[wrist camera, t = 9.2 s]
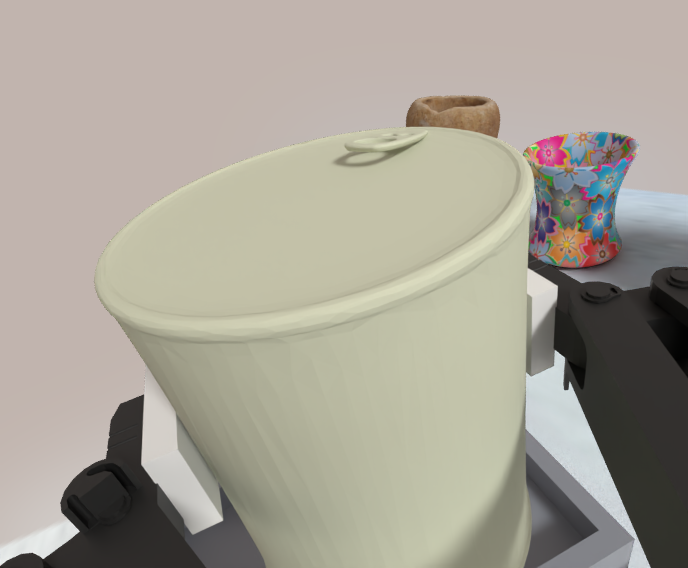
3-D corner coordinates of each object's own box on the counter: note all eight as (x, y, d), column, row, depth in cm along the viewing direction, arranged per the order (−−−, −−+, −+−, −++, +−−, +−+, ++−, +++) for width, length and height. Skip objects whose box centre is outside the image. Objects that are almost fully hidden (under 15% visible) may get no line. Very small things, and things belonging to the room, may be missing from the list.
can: (578, 467, 15) (617, 101, 9) (425, 763, 10) (270, 406, 4) (372, 369, 21) (309, 109, 15) (212, 526, 16) (18, 235, 10)
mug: (585, 288, 41) (595, 176, 35) (503, 255, 48) (500, 158, 42) (662, 235, 45) (682, 127, 39) (576, 212, 52) (582, 119, 46)
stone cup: (524, 212, 55) (524, 81, 47) (462, 256, 49) (450, 117, 42) (429, 192, 66) (416, 84, 58) (370, 227, 60) (347, 113, 52)
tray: (188, 850, 18) (155, 836, 16) (172, 531, 29) (151, 505, 28) (626, 571, 22) (634, 539, 21) (462, 391, 34) (459, 362, 32)
